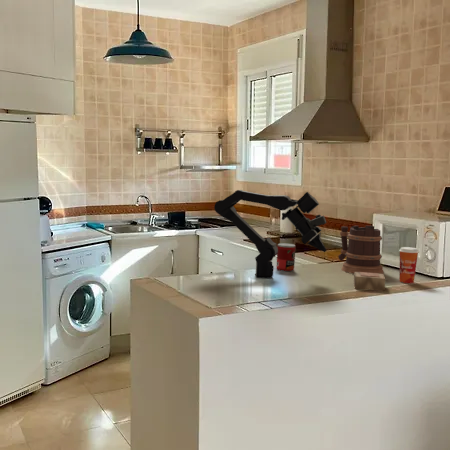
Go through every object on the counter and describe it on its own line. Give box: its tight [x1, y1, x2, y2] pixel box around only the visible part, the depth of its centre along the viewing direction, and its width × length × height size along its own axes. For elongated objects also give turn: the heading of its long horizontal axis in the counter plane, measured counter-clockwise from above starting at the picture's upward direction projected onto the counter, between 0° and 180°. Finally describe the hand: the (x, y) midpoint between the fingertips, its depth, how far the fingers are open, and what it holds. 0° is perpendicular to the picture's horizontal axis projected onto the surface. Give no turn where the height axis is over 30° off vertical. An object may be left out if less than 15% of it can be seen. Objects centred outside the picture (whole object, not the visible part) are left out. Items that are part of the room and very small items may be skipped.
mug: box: [337, 225, 385, 275], centre depth 262 cm, size 18×23×20 cm
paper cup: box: [398, 246, 420, 284], centre depth 239 cm, size 8×8×14 cm
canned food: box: [275, 242, 296, 272], centre depth 256 cm, size 8×8×11 cm
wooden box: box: [353, 272, 386, 292], centre depth 226 cm, size 5×10×11 cm
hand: (325, 251), depth 230 cm, fingers closed
